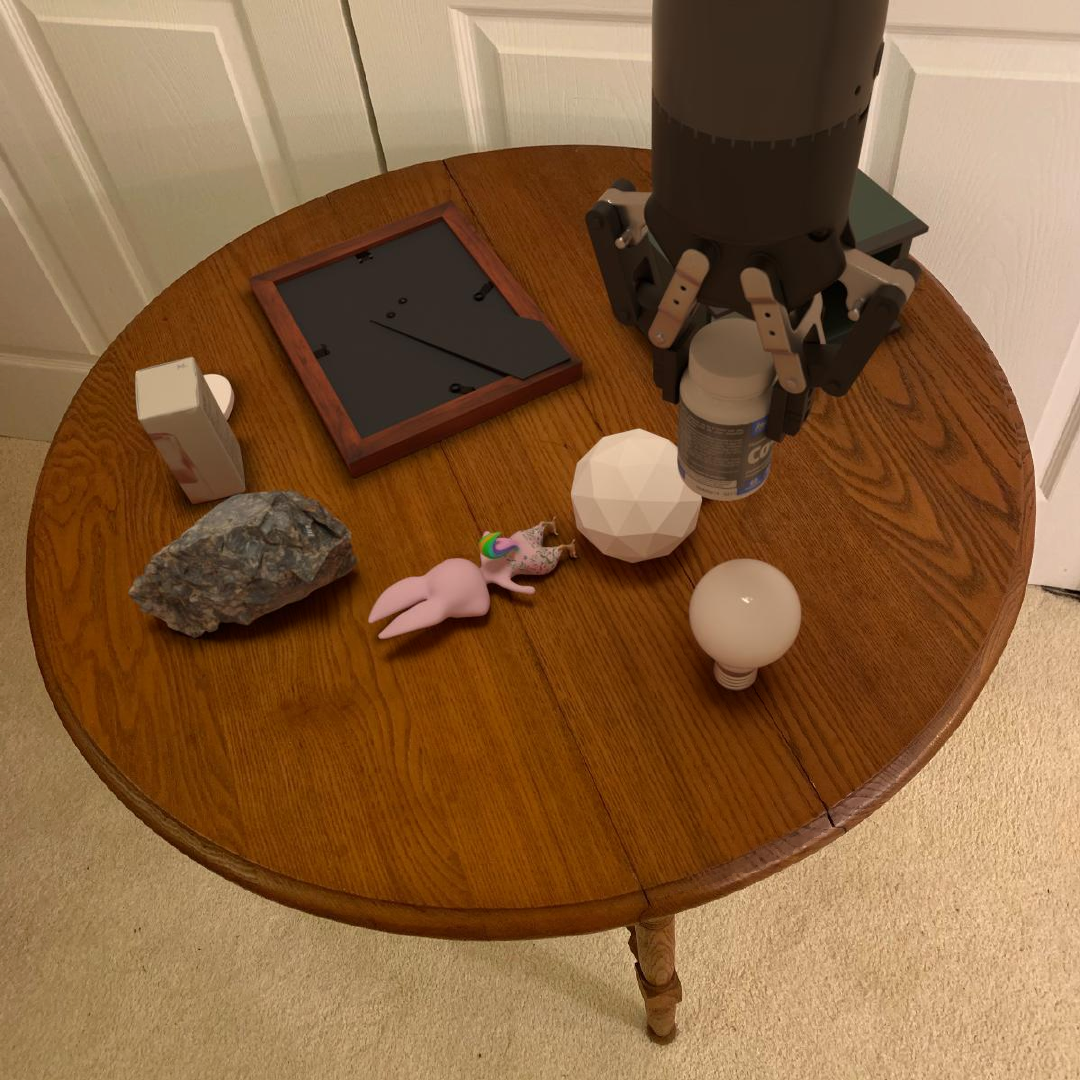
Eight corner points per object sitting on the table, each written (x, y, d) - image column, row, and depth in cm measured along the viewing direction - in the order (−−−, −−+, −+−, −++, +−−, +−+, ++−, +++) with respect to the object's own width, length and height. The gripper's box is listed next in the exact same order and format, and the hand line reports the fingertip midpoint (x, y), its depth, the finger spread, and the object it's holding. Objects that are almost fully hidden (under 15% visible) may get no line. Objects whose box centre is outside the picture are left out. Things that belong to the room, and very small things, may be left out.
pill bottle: (760, 511, 50) (778, 393, 43) (667, 493, 51) (670, 376, 44) (777, 441, 52) (796, 319, 45) (688, 425, 53) (694, 304, 46)
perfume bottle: (635, 608, 65) (763, 524, 70) (618, 492, 60) (757, 410, 65) (555, 556, 71) (677, 482, 76) (532, 447, 66) (665, 375, 71)
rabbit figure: (539, 528, 74) (354, 611, 68) (544, 471, 69) (346, 555, 63) (587, 585, 70) (397, 678, 65) (595, 530, 66) (392, 624, 60)
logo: (238, 426, 80) (229, 360, 85) (235, 420, 79) (226, 353, 84) (158, 447, 80) (153, 379, 84) (154, 440, 79) (150, 372, 83)
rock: (198, 709, 66) (136, 633, 58) (143, 607, 71) (79, 524, 63) (383, 598, 70) (349, 512, 62) (318, 509, 75) (279, 419, 67)
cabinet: (900, 329, 81) (929, 226, 72) (707, 412, 77) (715, 314, 69) (805, 240, 88) (822, 137, 80) (625, 312, 84) (623, 212, 76)
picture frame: (583, 377, 80) (454, 215, 94) (581, 359, 79) (450, 197, 92) (353, 478, 76) (253, 293, 90) (347, 461, 75) (246, 275, 88)
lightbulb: (663, 676, 64) (667, 584, 55) (729, 616, 67) (743, 518, 58) (739, 741, 61) (756, 655, 52) (805, 676, 64) (832, 582, 55)
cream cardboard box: (186, 459, 79) (134, 367, 71) (241, 445, 79) (195, 353, 71) (189, 509, 76) (135, 419, 68) (246, 495, 76) (199, 404, 68)
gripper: (527, 81, 35) (561, 413, 49) (933, 182, 30) (843, 521, 44) (628, -19, 38) (634, 317, 52) (1009, 56, 33) (903, 407, 47)
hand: (729, 409), depth 48 cm, fingers closed on pill bottle, 4 cm apart
